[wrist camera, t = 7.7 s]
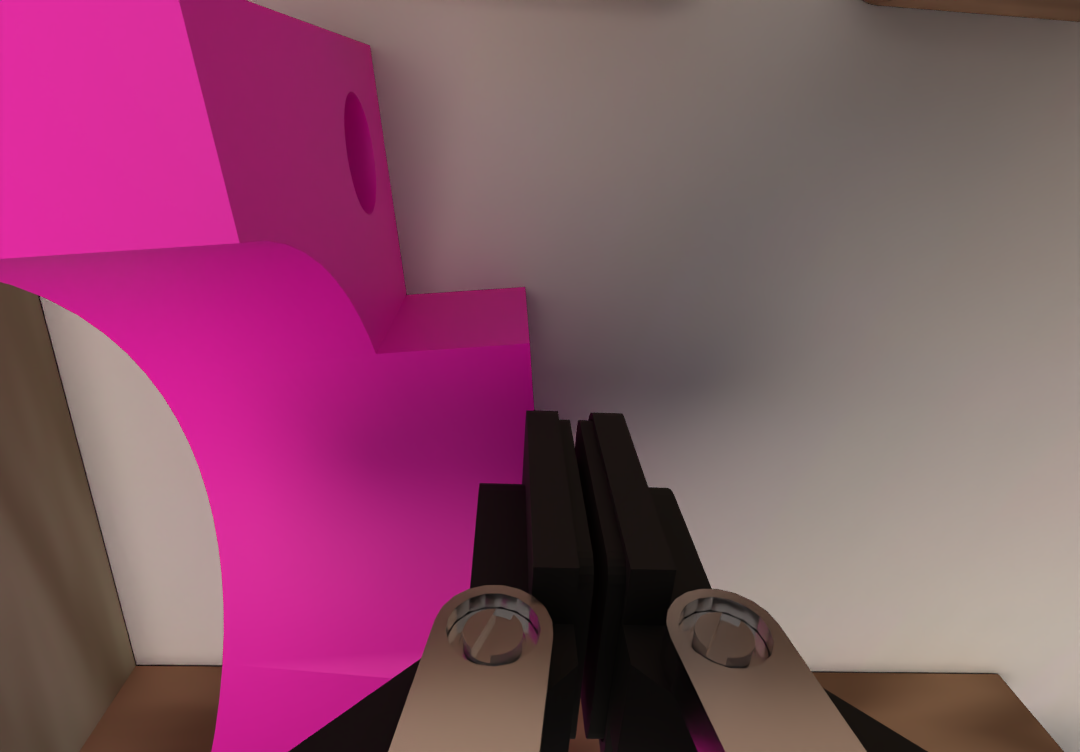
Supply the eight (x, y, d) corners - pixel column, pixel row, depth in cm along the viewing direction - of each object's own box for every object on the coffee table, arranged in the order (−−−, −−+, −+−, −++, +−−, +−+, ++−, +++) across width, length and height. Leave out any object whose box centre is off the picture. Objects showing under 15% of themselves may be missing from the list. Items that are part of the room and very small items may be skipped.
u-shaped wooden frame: (1343, -34, 12) (1890, -122, 7) (984, 703, 19) (1133, 893, 15) (-166, -171, 10) (-751, -402, 5) (99, 697, 17) (-47, 910, 13)
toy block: (549, 641, 18) (574, 986, 11) (325, 659, 18) (208, 1017, 11) (508, 37, 12) (505, -46, 5) (165, 58, 12) (-340, 3, 5)
